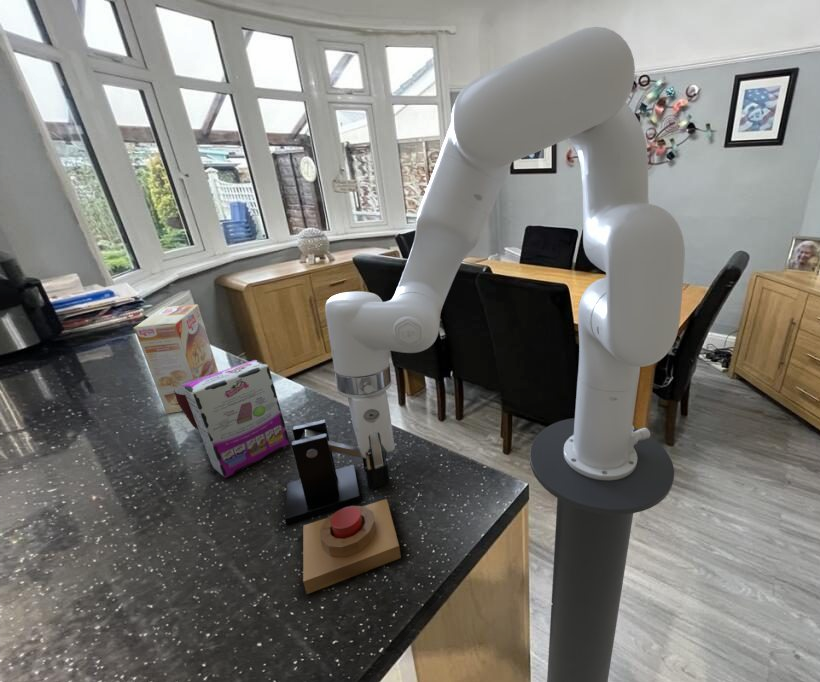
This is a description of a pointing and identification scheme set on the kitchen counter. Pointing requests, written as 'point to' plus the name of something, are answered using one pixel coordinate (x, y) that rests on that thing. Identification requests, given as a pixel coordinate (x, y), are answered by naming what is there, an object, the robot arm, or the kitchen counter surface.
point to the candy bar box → (237, 416)
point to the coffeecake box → (175, 350)
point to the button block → (348, 548)
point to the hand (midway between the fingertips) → (376, 476)
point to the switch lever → (337, 445)
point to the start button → (346, 522)
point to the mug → (185, 401)
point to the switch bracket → (318, 477)
